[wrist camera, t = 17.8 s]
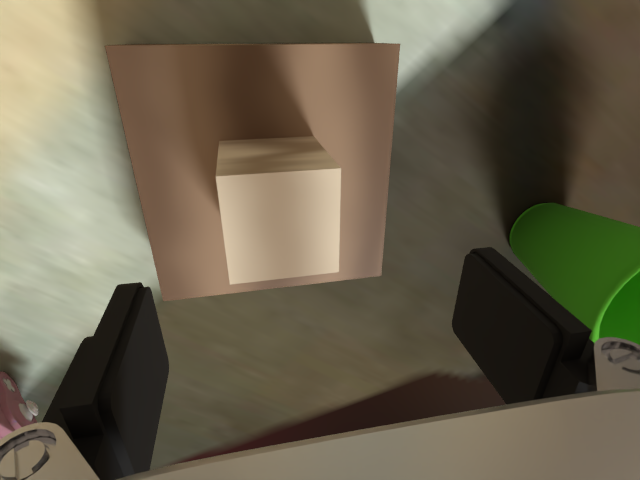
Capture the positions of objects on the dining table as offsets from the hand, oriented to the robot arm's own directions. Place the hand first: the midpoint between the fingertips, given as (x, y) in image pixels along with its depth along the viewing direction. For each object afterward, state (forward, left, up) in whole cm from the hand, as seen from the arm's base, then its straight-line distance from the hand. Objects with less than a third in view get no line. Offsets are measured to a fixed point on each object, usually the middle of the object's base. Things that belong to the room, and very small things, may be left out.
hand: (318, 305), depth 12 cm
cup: (-22, +7, -16) cm, 28 cm away
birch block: (0, 0, -12) cm, 12 cm away
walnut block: (0, 0, -16) cm, 16 cm away
